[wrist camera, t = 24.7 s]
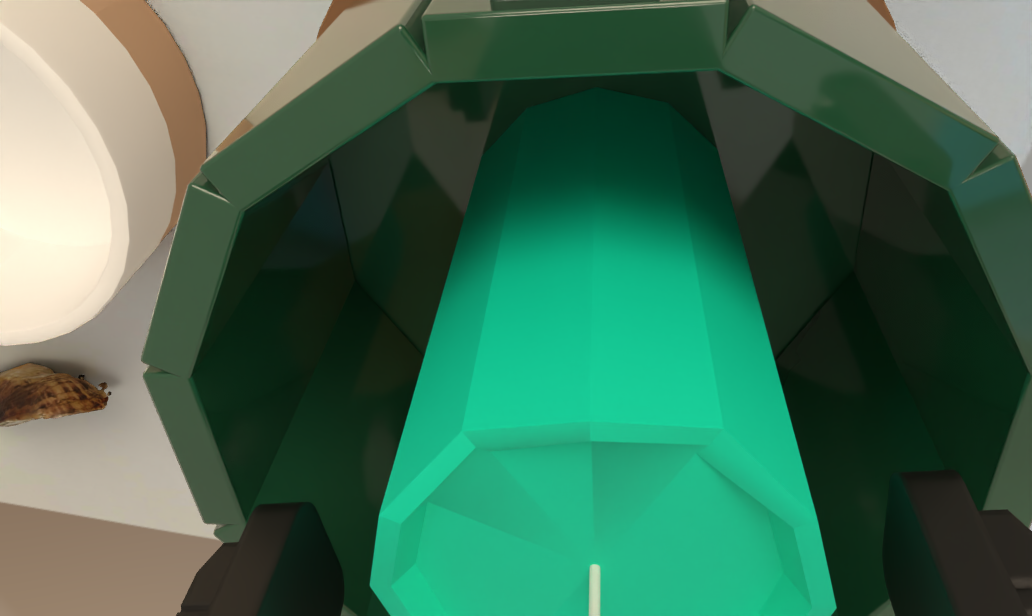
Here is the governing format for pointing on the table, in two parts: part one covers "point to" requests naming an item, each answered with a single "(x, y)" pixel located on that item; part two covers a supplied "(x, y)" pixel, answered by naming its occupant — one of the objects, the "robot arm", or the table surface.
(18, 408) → the oyster shell
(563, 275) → the candle
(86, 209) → the bowl
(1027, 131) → the table surface
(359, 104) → the pot
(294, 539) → the robot arm
